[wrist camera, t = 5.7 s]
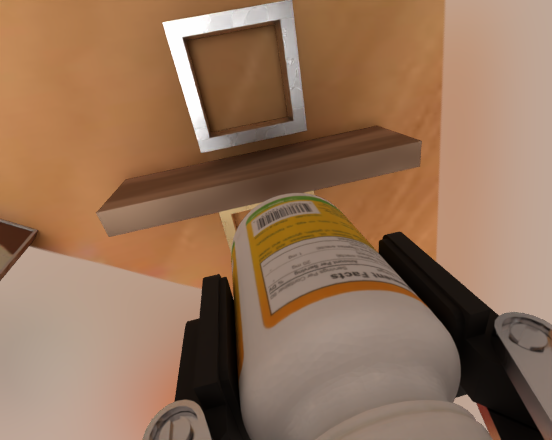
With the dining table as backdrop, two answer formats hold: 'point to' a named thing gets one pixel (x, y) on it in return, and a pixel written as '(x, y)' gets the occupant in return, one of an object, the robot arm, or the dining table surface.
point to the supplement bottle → (336, 335)
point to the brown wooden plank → (256, 178)
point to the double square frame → (290, 71)
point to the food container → (13, 243)
